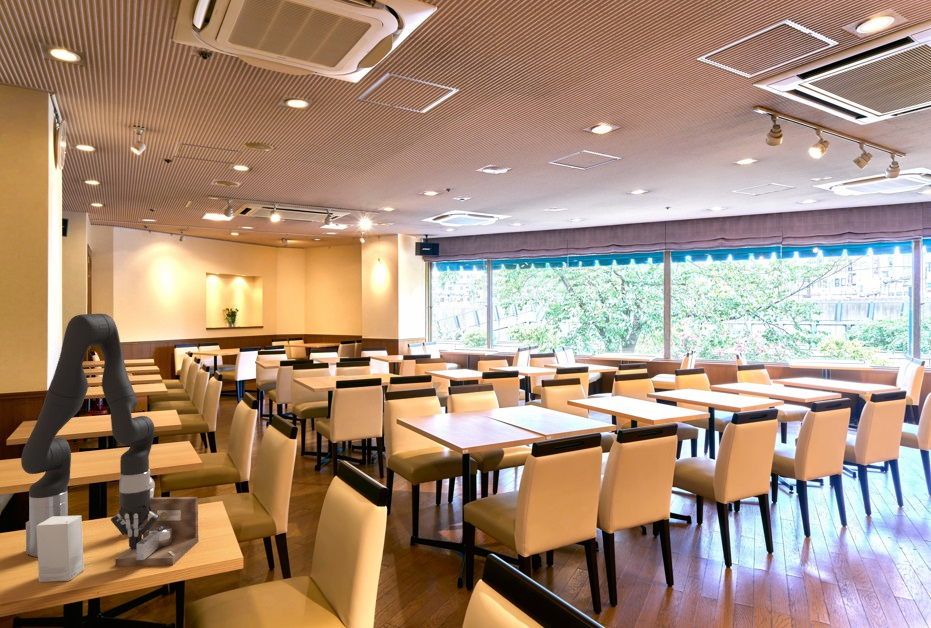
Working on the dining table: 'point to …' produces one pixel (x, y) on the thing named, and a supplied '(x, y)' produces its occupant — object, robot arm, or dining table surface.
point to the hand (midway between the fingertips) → (135, 548)
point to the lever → (154, 541)
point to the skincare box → (60, 548)
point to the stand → (184, 531)
